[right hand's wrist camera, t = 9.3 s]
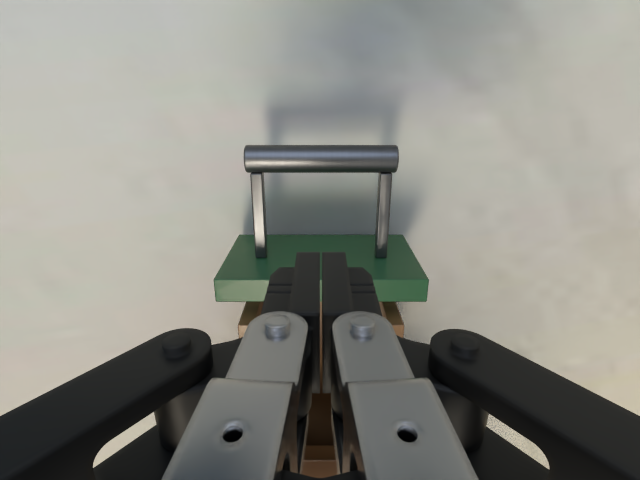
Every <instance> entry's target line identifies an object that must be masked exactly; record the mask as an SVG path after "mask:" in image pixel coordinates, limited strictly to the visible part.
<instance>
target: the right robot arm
mask: <svg viewBox="0 0 640 480" xmlns="http://www.w3.org/2000/svg"><path fill="white" fill-rule="evenodd" d="M322 380H323V393H331V425H332V433H333V440H334V448H335V456H336V464H337V472H338V475H334V476H330V477H325V478H315V477H310V476H306V475H302V472H303V464H304V456H305V448H306V440H307V433H308V425H309V410H310V408H311V403H312V393H320V252H297V254H296V261H295V267H279V268H278V269H277V270H276V271H275V272H274V273H272V274H271V276H270V280H269V284H268V287H267V291H266V295H265V299H264V303H263V307H262V311H261V314H260V316H258V317H256V318H254V319H253V320H252V321H251V322H250V323H249V325H248V326H247V329H246V331H245V333H244V336H243V337H241V338H239V339H236V340H233V341H229V342H224V343H220V344H215V345H211V339H210V337H209V336H208V334H206V333H205V332H203V331H201V330H198V329H192V328H183V329H176V330H172V331H168V332H165V333H163V334H161V335H159V336H157V337H155V338H153V339H151V340H149V341H147V342H145V343H143V344H141V345H139V346H137V347H135V348H133V349H131V350H129V351H127V352H125V353H123V354H121V355H119V356H117V357H115V358H113V359H111V360H110V361H108V362H106V363H104V364H102V365H100V366H98V367H96V368H94V369H92V370H90V371H88V372H86V373H84V374H82V375H80V376H78V377H76V378H74V379H72V380H70V381H68V382H66V383H64V384H63V385H61V386H59V387H57V388H55V389H53V390H51V391H49V392H47V393H45V394H43V395H41V396H39V397H37V398H35V399H33V400H31V401H29V402H27V403H25V404H23V405H21V406H19V407H17V408H15V409H14V410H12V411H10V412H8V413H6V414H4V415H2V416H0V480H640V416H638V415H636V414H634V413H632V412H630V411H628V410H626V409H625V408H623V407H621V406H619V405H617V404H615V403H613V402H611V401H609V400H607V399H605V398H603V397H601V396H599V395H597V394H595V393H593V392H591V391H589V390H587V389H585V388H583V387H581V386H579V385H577V384H576V383H574V382H572V381H570V380H568V379H566V378H564V377H562V376H560V375H558V374H556V373H554V372H552V371H550V370H548V369H546V368H544V367H542V366H540V365H538V364H536V363H534V362H532V361H530V360H529V359H527V358H525V357H523V356H521V355H519V354H517V353H515V352H513V351H511V350H509V349H507V348H505V347H503V346H501V345H499V344H497V343H495V342H493V341H491V340H489V339H487V338H485V337H483V336H481V335H479V334H477V333H474V332H471V331H467V330H461V329H448V330H443V331H440V332H438V333H436V334H435V335H434V336H433V337H432V339H431V342H430V345H429V344H424V343H419V342H414V341H410V340H407V339H404V338H402V337H400V336H398V335H396V333H395V331H394V329H393V326H392V325H391V323H390V322H389V321H388V320H387V319H386V318H384V317H383V316H382V312H381V309H380V305H379V301H378V297H377V294H376V290H375V286H374V283H373V279H372V275H371V274H370V273H369V272H367V271H366V270H365V269H364V268H363V267H347V260H346V253H345V252H322ZM152 412H154V414H155V419H156V424H157V425H155V426H154V427H152V428H151V429H150V430H148V431H147V432H145V433H144V434H142V435H141V436H139V437H138V438H136V439H135V440H134V441H132V442H131V443H129V444H128V445H126V446H125V447H123V448H122V449H121V450H119V451H118V452H116V453H115V454H113V455H112V456H110V457H109V458H107V459H106V460H105V461H103V462H102V463H100V464H99V465H97V466H96V467H94V468H93V462H94V459H95V457H96V455H97V453H98V452H99V450H100V449H101V448H102V447H103V446H104V445H105V444H106V443H107V442H109V441H110V440H111V439H113V438H114V437H116V436H117V435H119V434H120V433H122V432H123V431H125V430H127V429H128V428H130V427H131V426H133V425H134V424H136V423H137V422H139V421H140V420H142V419H143V418H145V417H146V416H148V415H149V414H151V413H152ZM488 414H491V415H492V416H494V417H495V418H497V419H498V420H500V421H501V422H503V423H504V424H506V425H507V426H509V427H510V428H512V429H513V430H515V431H517V432H518V433H520V434H521V435H523V436H524V437H526V438H527V439H529V440H530V441H532V442H533V443H534V444H536V445H537V446H538V447H539V448H540V449H541V450H542V452H543V453H544V454H545V456H546V458H547V460H548V462H549V466H550V470H549V469H547V468H546V467H544V466H543V465H541V464H540V463H538V462H537V461H535V460H534V459H533V458H531V457H530V456H528V455H527V454H525V453H524V452H522V451H521V450H519V449H518V448H517V447H515V446H514V445H512V444H511V443H509V442H508V441H506V440H505V439H504V438H502V437H501V436H499V435H498V434H496V433H495V432H493V431H492V430H490V429H489V428H488V427H486V424H487V419H488Z"/></svg>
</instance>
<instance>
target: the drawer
mask: <svg viewBox="0 0 640 480" xmlns="http://www.w3.org/2000/svg"><path fill="white" fill-rule="evenodd" d="M398 162H399V152H398V147H397V146H396V145H246V146H245V149H244V166H245V170H246V172H248V173H251V174H250V177H251V193H252V210H253V226H254V235H239V236H238V238H237V240H236V242H235V243H234V245H233V247H232V249H231V250H230V252H229V254H228V256H227V257H226V259H225V261H224V263H223V264H222V266H221V268H220V270H219V271H218V273H217V275H216V277H215V278H214V287H215V297H216V301H217V302H246V304H245V307H244V310H243V313H242V315H241V318H240V321H239V324H238V332H239V338H241V337H243V336H244V333H245V331H246V329H247V326H248V325H249V323H250V322H251V321H252V320H253V319H254V318H256V317H258V316H260V314H261V311H262V307H263V303H264V299H265V295H266V291H267V287H268V284H269V280H270V276H271V274H272V273H274V272H275V271H276V270H277V269H278V268H279V267H295V261H296V254H297V252H320V393H312V403H311V408H310V410H309V425H308V433H307V440H306V446H334V440H333V433H332V425H331V393H323V380H322V252H345V253H346V260H347V267H363V268H364V269H365V270H366V271H367V272H369V273H370V274H371V275H372V279H373V283H374V286H375V290H376V294H377V297H378V301H379V305H380V309H381V312H382V316H383V317H384V318H386V319H387V320H388V321H389V322H390V323H391V325H392V326H393V329H394V331H395V333H396V335H398V336H400V337H402V338H403V335H404V323H403V321H402V318H401V315H400V312H399V310H398V307H397V304H396V302H426V301H427V292H428V283H429V279H428V278H427V276H426V274H425V272H424V271H423V269H422V267H421V266H420V264H419V262H418V260H417V259H416V257H415V255H414V254H413V252H412V250H411V248H410V247H409V245H408V243H407V242H406V240H405V238H404V236H403V235H388V231H389V215H390V200H391V184H392V173H395V172H396V171H397V168H398ZM264 173H379V177H378V196H377V215H376V234H375V235H267V229H266V209H265V189H264Z"/></svg>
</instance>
